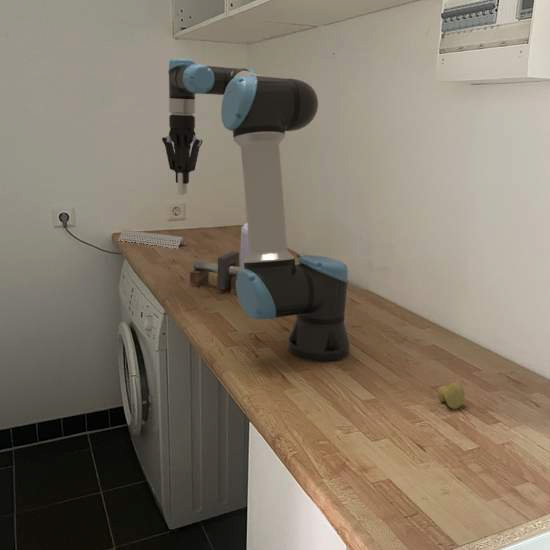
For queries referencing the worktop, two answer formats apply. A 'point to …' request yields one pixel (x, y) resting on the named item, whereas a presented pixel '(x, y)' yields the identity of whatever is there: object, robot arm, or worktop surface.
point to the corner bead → (152, 238)
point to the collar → (226, 269)
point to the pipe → (215, 267)
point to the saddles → (207, 280)
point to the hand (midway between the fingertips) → (182, 193)
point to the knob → (452, 395)
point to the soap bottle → (244, 245)
